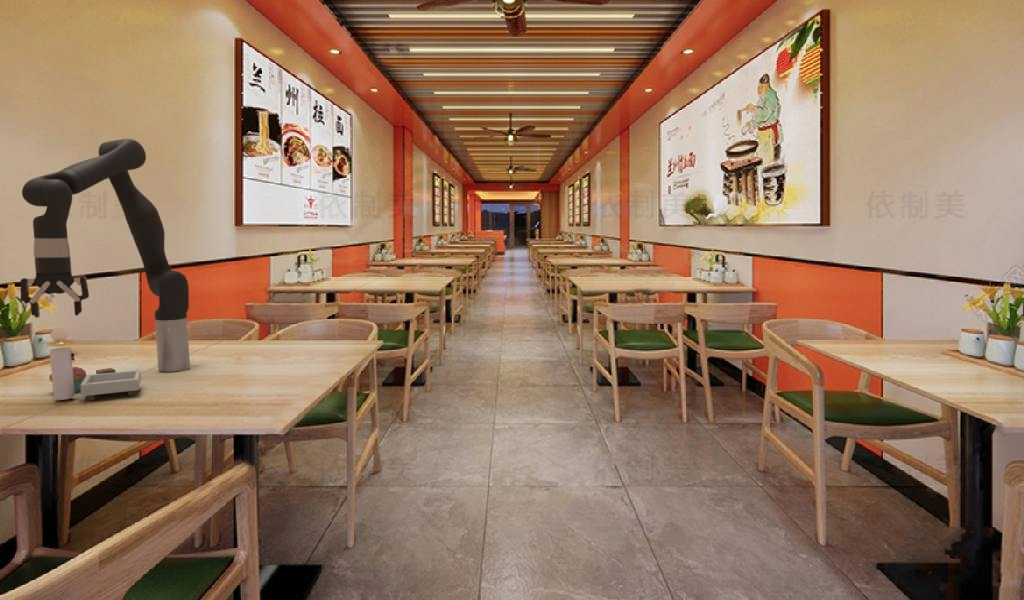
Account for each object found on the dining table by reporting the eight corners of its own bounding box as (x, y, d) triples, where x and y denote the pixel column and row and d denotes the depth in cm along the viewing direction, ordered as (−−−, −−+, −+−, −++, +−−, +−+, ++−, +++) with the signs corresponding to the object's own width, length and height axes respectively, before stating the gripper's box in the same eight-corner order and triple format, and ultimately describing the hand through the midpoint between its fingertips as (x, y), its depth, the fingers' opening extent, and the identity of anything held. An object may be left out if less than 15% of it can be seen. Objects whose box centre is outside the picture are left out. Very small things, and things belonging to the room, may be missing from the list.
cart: (141, 386, 174) (140, 370, 174) (139, 396, 163) (138, 379, 163) (88, 392, 168) (86, 375, 168) (81, 403, 157) (80, 385, 156)
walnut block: (112, 380, 182) (111, 367, 182) (116, 382, 180) (115, 369, 179) (96, 382, 179) (95, 370, 179) (100, 385, 176) (100, 372, 176)
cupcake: (94, 389, 171) (91, 348, 170) (64, 396, 164) (61, 354, 162) (74, 386, 174) (71, 346, 173) (43, 393, 166) (39, 352, 165)
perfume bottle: (58, 404, 156) (52, 330, 154) (46, 401, 158) (40, 328, 156) (82, 398, 161) (76, 327, 159) (70, 396, 164) (64, 325, 161)
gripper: (87, 254, 162) (91, 312, 164) (21, 255, 155) (26, 316, 157) (83, 255, 156) (88, 316, 158) (14, 256, 149) (20, 319, 151)
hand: (57, 316), depth 157 cm, fingers open, 8 cm apart
